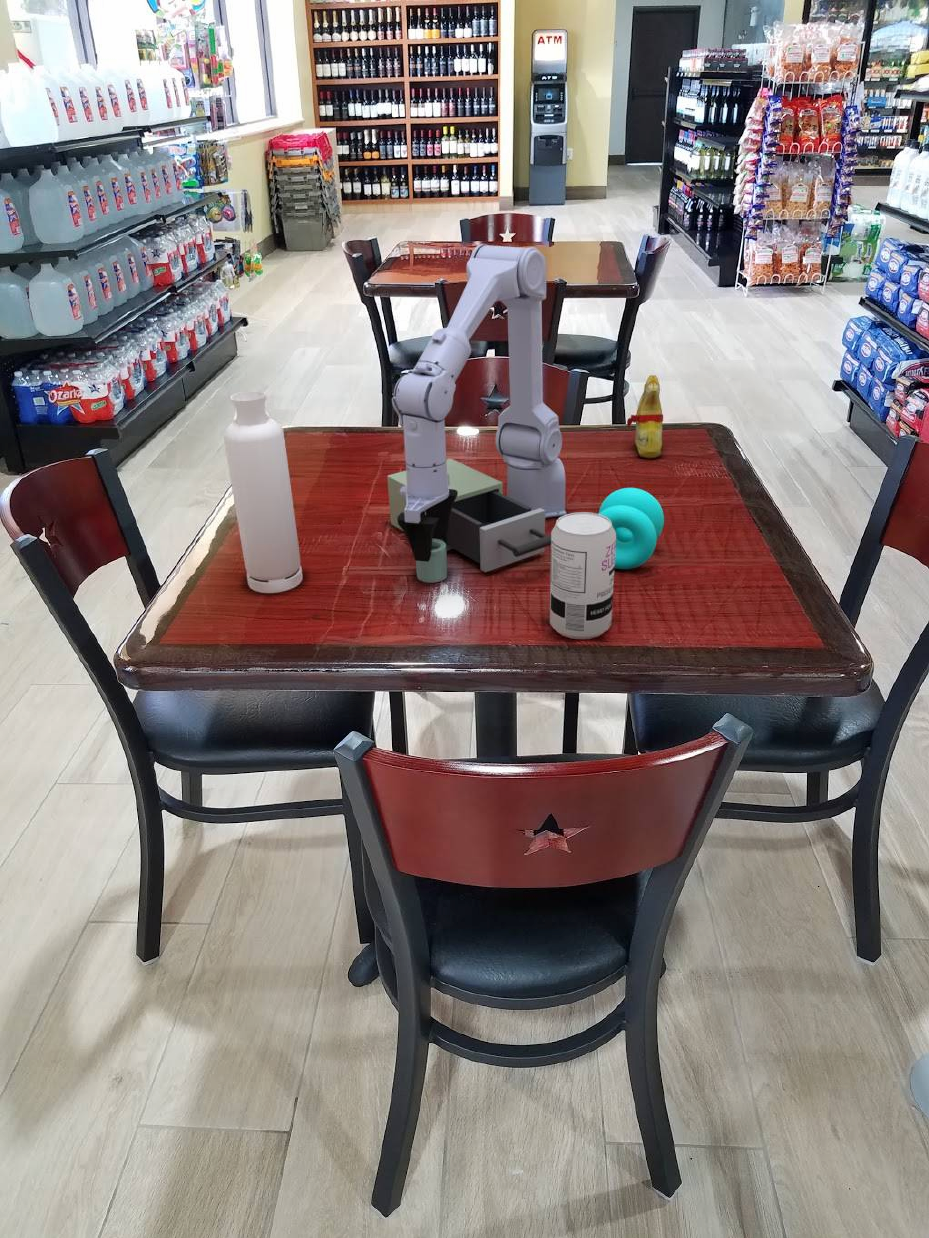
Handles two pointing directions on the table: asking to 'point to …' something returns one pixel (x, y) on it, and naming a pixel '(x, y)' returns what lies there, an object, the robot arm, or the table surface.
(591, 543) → the supplement can
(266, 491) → the bottle
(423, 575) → the jar
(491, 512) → the drawer
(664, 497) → the table surface
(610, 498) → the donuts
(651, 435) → the chocolate bunny
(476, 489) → the green drawer cabinet
